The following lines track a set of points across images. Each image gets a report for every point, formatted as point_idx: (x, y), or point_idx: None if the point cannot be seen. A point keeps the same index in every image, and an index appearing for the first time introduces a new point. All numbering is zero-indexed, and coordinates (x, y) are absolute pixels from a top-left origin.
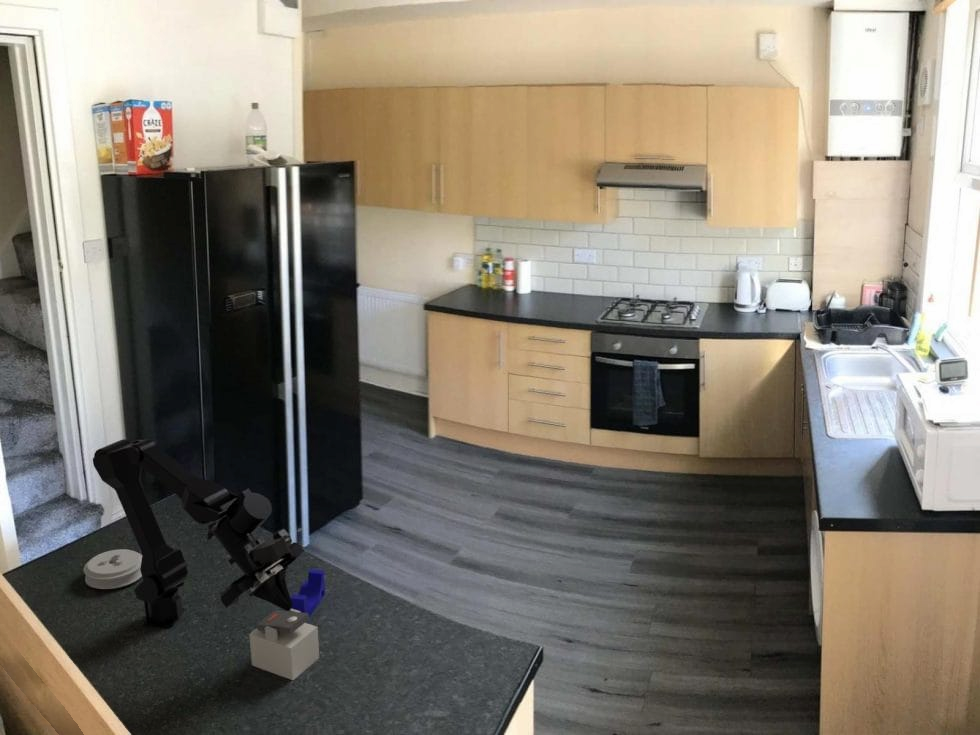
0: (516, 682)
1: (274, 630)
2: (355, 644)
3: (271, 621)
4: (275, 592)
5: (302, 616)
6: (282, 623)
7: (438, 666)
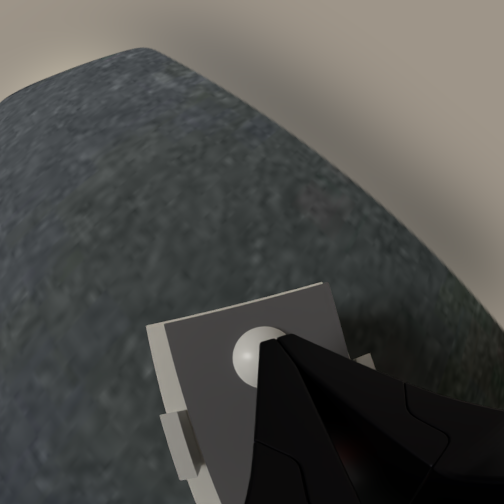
0: (56, 75)
1: (368, 358)
2: (66, 319)
3: None
4: (446, 401)
5: (206, 328)
6: None
7: (57, 142)
